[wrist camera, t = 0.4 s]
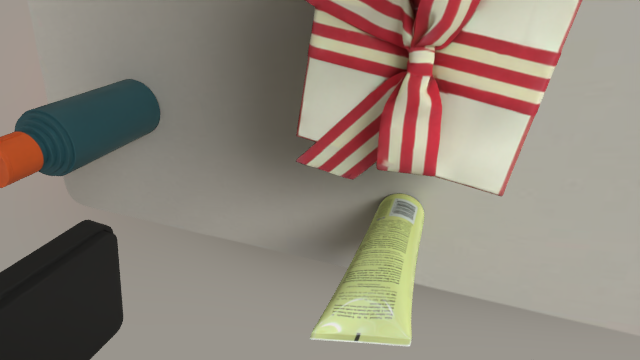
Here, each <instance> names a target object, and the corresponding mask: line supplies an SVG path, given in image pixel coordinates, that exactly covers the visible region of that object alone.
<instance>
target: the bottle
mask: <svg viewBox="0 0 640 360" xmlns="http://www.w3.org/2000/svg"><path fill="white" fill-rule="evenodd" d="M159 119H160V109H159V104H158V102H157V99H156V97H155V96H154V94H153V93H152V91H151V90H150V89H149V88H148V87H147V86H145V85H144V84H143V83H141V82H139V81H136V80H132V79H127V80H123V81H120V82H116V83H113V84H110V85H107V86H104V87H101V88H98V89H94V90H91V91H88V92H85V93H82V94H79V95H76V96H72V97H69V98H66V99H63V100H60V101H57V102H54V103H51V104H47V105H44V106H41V107H38V108H35V109H32V110H29V111H26V112H25V113H24V114H23V115H22V116H21V117H20V118H19V119H18V121H17V123H16V126H15V132H23V133H26V134H27V135H29V136H30V137H32V138H33V139H34V140H35V141H36V143H37V144H38V145H39V147H40V149H41V151H42V154H43V159H44V163H43V166H42V168H41V169H40V170H39V172H41V173H43V174H46V175H50V176H63V175H66V174H68V173H70V172H72V171H74V170H76V169H78V168H80V167H82V166H84V165H86V164H88V163H90V162H92V161H94V160H96V159H98V158H100V157H102V156H104V155H106V154H108V153H110V152H112V151H114V150H116V149H118V148H120V147H122V146H124V145H126V144H128V143H130V142H132V141H134V140H136V139H138V138H140V137H142V136H144V135H146V134H148V133H150V132H151V131H153V130H154V129H155V128H156V127H157V125H158V123H159Z"/></svg>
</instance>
